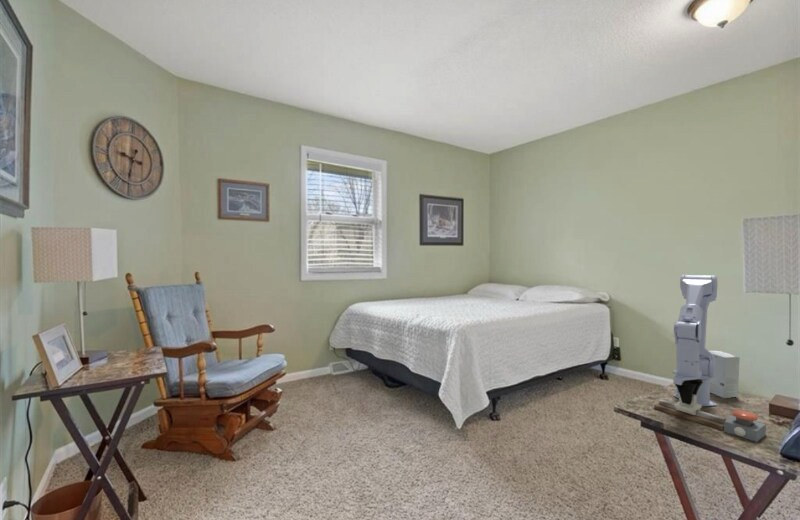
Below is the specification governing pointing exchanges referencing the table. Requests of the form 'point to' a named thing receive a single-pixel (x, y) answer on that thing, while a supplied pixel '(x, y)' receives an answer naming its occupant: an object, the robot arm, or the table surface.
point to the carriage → (686, 407)
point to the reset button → (744, 417)
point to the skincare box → (725, 375)
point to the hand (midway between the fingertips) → (688, 402)
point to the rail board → (699, 417)
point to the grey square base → (745, 429)
